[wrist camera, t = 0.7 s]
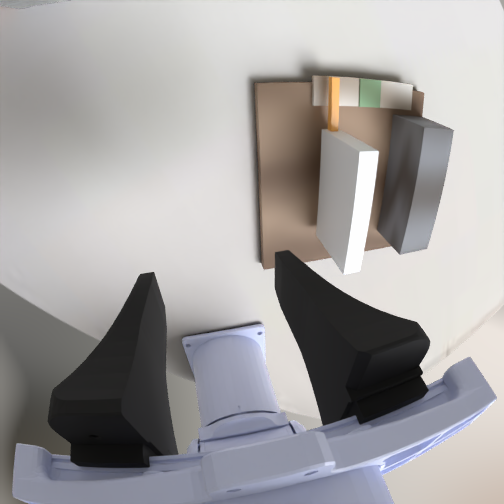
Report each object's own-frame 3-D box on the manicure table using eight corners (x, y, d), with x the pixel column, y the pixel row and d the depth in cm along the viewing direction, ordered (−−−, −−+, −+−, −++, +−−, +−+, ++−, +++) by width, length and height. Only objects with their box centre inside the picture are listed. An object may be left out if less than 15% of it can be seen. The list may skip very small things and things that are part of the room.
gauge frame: (394, 240, 27) (420, 267, 24) (261, 263, 25) (276, 300, 22) (418, 85, 19) (457, 96, 15) (253, 75, 17) (273, 79, 13)
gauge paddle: (330, 232, 23) (359, 271, 19) (315, 234, 23) (343, 274, 19) (339, 77, 16) (383, 86, 13) (322, 76, 16) (363, 84, 12)
